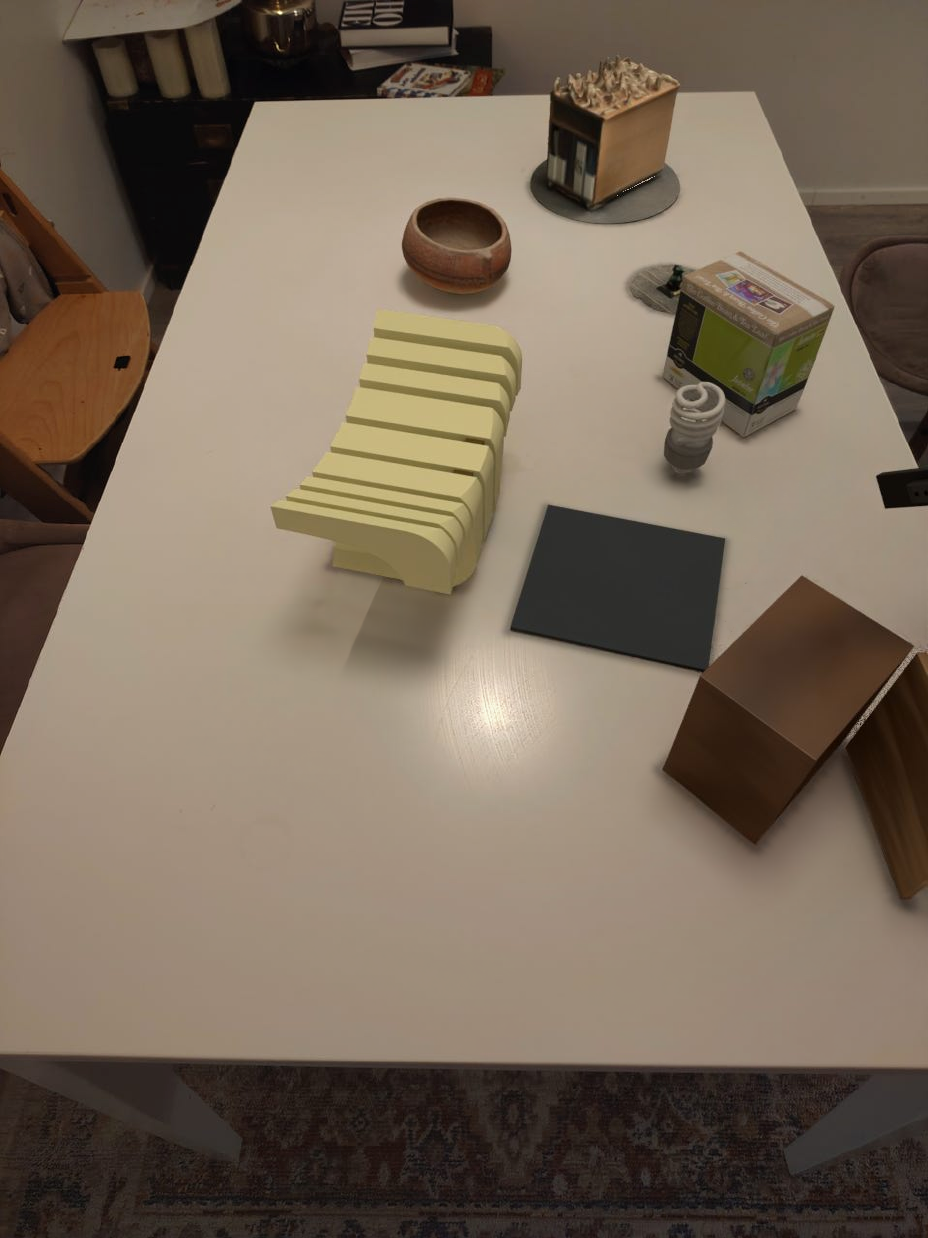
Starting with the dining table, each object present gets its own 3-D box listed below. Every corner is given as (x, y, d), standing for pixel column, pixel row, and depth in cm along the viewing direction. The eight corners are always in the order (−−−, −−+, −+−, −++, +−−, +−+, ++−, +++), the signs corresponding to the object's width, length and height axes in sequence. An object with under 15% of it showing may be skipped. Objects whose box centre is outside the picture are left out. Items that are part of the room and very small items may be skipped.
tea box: (798, 409, 105) (839, 304, 93) (742, 440, 101) (777, 335, 89) (714, 350, 112) (742, 246, 100) (658, 377, 109) (680, 273, 97)
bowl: (491, 320, 117) (492, 253, 109) (389, 301, 120) (382, 234, 112) (523, 262, 126) (525, 196, 118) (426, 246, 129) (423, 180, 121)
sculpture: (700, 322, 116) (672, 276, 113) (647, 345, 123) (618, 302, 120) (723, 274, 122) (697, 228, 118) (671, 298, 129) (645, 256, 125)
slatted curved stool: (453, 657, 83) (448, 538, 69) (305, 626, 85) (270, 505, 71) (517, 458, 100) (523, 329, 86) (391, 437, 103) (377, 308, 88)
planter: (668, 232, 130) (693, 101, 115) (514, 212, 134) (519, 83, 119) (688, 160, 144) (712, 35, 129) (548, 143, 149) (556, 21, 134)
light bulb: (670, 448, 101) (690, 365, 91) (712, 466, 99) (738, 384, 89) (648, 475, 98) (667, 393, 88) (691, 494, 96) (715, 412, 86)
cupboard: (841, 743, 77) (914, 645, 64) (755, 845, 71) (816, 761, 58) (750, 678, 81) (801, 574, 68) (662, 769, 75) (699, 675, 62)
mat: (724, 541, 92) (725, 538, 91) (706, 673, 81) (708, 670, 81) (547, 507, 95) (548, 504, 95) (510, 630, 85) (510, 626, 84)
